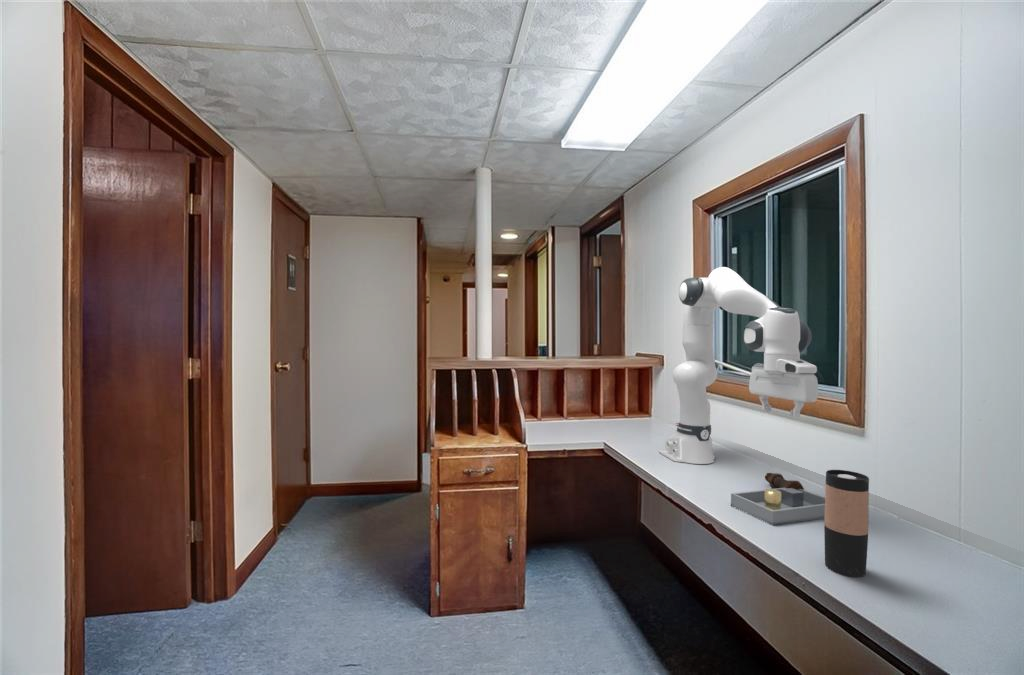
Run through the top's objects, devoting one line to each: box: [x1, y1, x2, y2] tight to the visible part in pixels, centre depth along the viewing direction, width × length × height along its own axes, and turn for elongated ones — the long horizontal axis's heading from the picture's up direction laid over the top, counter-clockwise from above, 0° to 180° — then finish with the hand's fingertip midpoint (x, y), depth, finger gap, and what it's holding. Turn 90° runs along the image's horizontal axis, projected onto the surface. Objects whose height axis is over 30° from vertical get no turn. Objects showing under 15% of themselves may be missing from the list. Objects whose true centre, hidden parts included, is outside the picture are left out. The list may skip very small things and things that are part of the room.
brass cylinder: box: [764, 488, 781, 510], centre depth 132 cm, size 4×4×6 cm
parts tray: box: [730, 488, 825, 526], centre depth 136 cm, size 15×24×4 cm, turn 108°
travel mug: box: [823, 469, 870, 578], centre depth 102 cm, size 8×8×20 cm
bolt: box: [764, 472, 805, 490], centre depth 152 cm, size 6×5×15 cm
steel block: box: [781, 488, 804, 508], centre depth 139 cm, size 4×4×4 cm
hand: (780, 414), depth 136 cm, fingers open, 8 cm apart
